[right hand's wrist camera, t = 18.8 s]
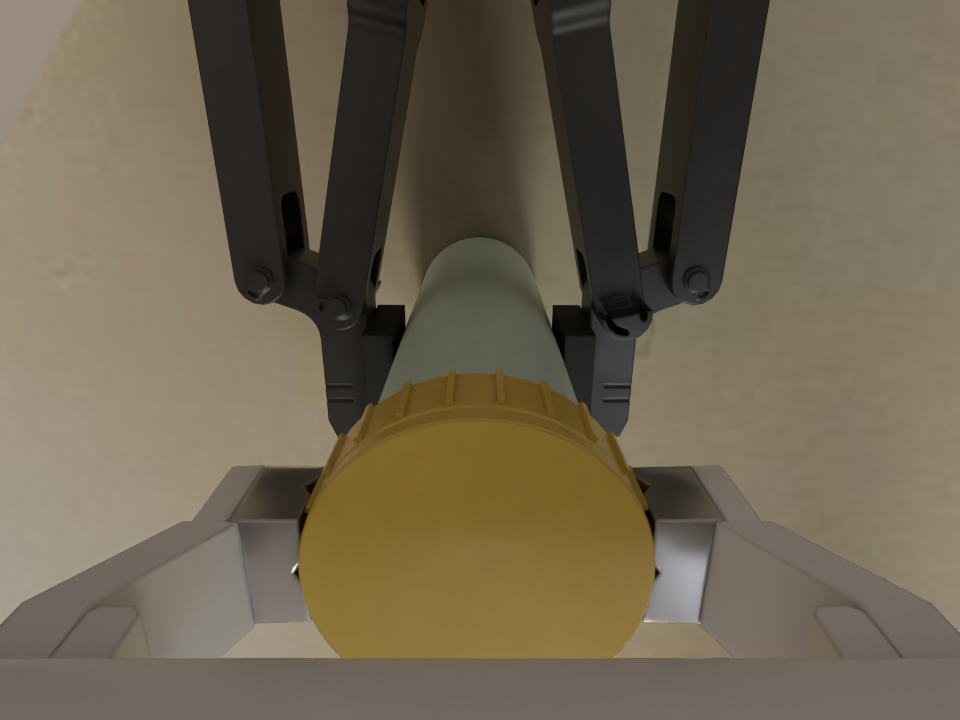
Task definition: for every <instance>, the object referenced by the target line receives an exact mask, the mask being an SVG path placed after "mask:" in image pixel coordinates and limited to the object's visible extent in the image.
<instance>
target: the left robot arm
mask: <svg viewBox="0 0 960 720" xmlns="http://www.w3.org/2000/svg"><path fill="white" fill-rule="evenodd" d="M427 1H428V0H347V6H348V15H349V23H348V33H347V41H346V48H345V56H344V64H343V72H342V79H341V87H340V95H339V103H338V111H337V118H336V126H335V134H334V142H333V149H332V157H331V165H330V173H329V180H328V188H327V196H326V204H325V211H324V219H323V227H322V235H321V243H320V250H319V253H318V252H315V251H312V250H310V248H309V239H308V231H307V223H306V215H305V206H304V198H303V190H302V181H301V173H300V165H299V156H298V148H297V140H296V131H295V123H294V115H293V107H292V98H291V90H290V82H289V73H288V65H287V57H286V48H285V40H284V32H283V24H282V15H281V7H280V0H188V5H189V11H190V17H191V23H192V29H193V35H194V41H195V47H196V53H197V59H198V65H199V71H200V77H201V83H202V88H203V94H204V100H205V106H206V112H207V118H208V124H209V130H210V136H211V142H212V148H213V154H214V160H215V166H216V172H217V178H218V184H219V190H220V196H221V202H222V208H223V214H224V220H225V226H226V232H227V238H228V244H229V250H230V256H231V262H232V268H233V274H234V280H235V283H236V286H237V289H238V291H239V292H240V293H241V294H242V295H243V296H244V298H246V299H247V300H249V301H251V302H253V303H256V304H262V305H265V304H269V303H273V302H275V303H278V304H281V305H284V306H287V307H290V308H292V309H295V310H298V311H300V312H302V313H304V314H306V315H307V316H308V317H310V318H311V319H312V320H313V321H314V323H315V324H316V325H317V327H318V329H319V332H320V336H321V343H322V353H323V364H324V374H325V385H326V396H327V406H328V417H329V421H330V423H331V425H332V427H333V429H334V431H335V433H336V434H337V436H338V437H339V435H340V434H341V433H343V434H345V435H347V434H348V432H349V431H350V429H351V428H352V427H353V426H354V425H355V424H356V423H357V422H358V421H359V420H360V419H361V418H362V415H363V413H364V410H365V408H366V406H367V405H369V404H370V403H372V404H373V405H374V406H376V405H377V404H378V402H379V400H380V397H381V394H382V391H383V389H384V386H385V383H386V381H387V378H388V375H389V372H390V370H391V367H392V364H393V362H394V359H395V356H396V353H397V351H398V348H399V345H400V343H401V340H402V337H403V335H404V332H405V329H406V326H405V305H378V306H377V308H376V302H375V294H376V292H377V290H378V289H379V286H380V284H381V281H379V276H380V270H381V264H382V258H383V252H384V246H385V240H386V234H387V228H388V222H389V216H390V210H391V204H392V198H393V192H394V186H395V180H396V174H397V168H398V162H399V156H400V150H401V144H402V138H403V132H404V126H405V120H406V113H407V107H408V101H409V95H410V89H411V83H412V77H413V71H414V65H415V59H416V54H417V49H418V45H419V42H420V39H421V35H422V30H423V25H424V19H425V13H426V7H427ZM769 2H770V0H678V7H677V15H676V24H675V32H674V40H673V48H672V56H671V64H670V72H669V80H668V88H667V97H666V105H665V113H664V121H663V129H662V137H661V145H660V153H659V161H658V170H657V178H656V186H655V194H654V202H653V210H652V218H651V226H650V235H649V243H648V250H646V251H644V252H641V253H638V246H637V238H636V230H635V222H634V214H633V206H632V199H631V191H630V183H629V175H628V167H627V159H626V151H625V143H624V135H623V127H622V119H621V111H620V103H619V95H618V88H617V80H616V72H615V64H614V56H613V48H612V40H611V32H610V9H611V0H531V4H532V10H533V16H534V22H535V28H536V33H537V37H538V41H539V44H540V47H541V51H542V57H543V63H544V69H545V75H546V82H547V88H548V94H549V100H550V106H551V112H552V118H553V124H554V130H555V137H556V143H557V149H558V155H559V161H560V167H561V173H562V179H563V186H564V192H565V198H566V204H567V210H568V216H569V222H570V228H571V234H572V241H573V247H574V253H575V259H576V265H577V271H578V277H579V283H580V289H581V291H582V307H580V306H579V305H553V316H552V330H553V333H554V336H555V339H556V342H557V345H558V348H559V350H560V353H561V356H562V359H563V362H564V365H565V367H566V370H567V373H568V376H569V379H570V382H571V385H572V387H573V390H574V393H575V396H576V399H577V402H578V404H579V403H580V402H581V401H582V402H583V403H585V404H586V405H587V408H588V411H589V413H590V416H592V417H593V418H594V419H595V420H596V421H597V422H598V423H599V425H600V426H601V427H602V428H603V429H604V431H605V432H606V433H609V432H610V431H612V432H613V433H614V435H615V437H619V436H620V434H621V432H622V430H623V428H624V426H625V424H626V423H627V421H628V414H629V403H630V402H629V399H630V393H631V383H632V373H633V362H634V352H635V342H636V338H637V337H639V336H641V335H642V334H643V333H644V332H645V331H646V330H647V329H648V327H649V325H650V323H651V321H652V314H653V313H655V312H657V311H659V310H662V309H665V308H668V307H671V306H674V305H677V304H680V303H686V304H690V305H697V304H703V303H705V302H706V301H708V300H710V299H712V298H713V297H714V295H715V294H716V293H717V292H718V291H719V288H720V285H721V283H722V278H723V272H724V267H725V261H726V255H727V249H728V243H729V237H730V231H731V225H732V219H733V214H734V208H735V202H736V196H737V190H738V184H739V178H740V172H741V166H742V161H743V155H744V149H745V143H746V137H747V131H748V125H749V119H750V113H751V108H752V102H753V96H754V90H755V84H756V78H757V72H758V66H759V60H760V55H761V49H762V43H763V37H764V31H765V25H766V19H767V13H768V7H769Z"/></svg>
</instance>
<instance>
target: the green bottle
mask: <svg viewBox="0 0 960 720" xmlns="http://www.w3.org/2000/svg"><path fill="white" fill-rule="evenodd" d="M496 369H498V370H503V375H506V376H510V377H515V378H520V379H525V380H528V381H530V382H533V383H536V384H540V382H541V380H543V381H546V382H548V385H549V388H550V389H551V390H553V391H555V392H557V393H559V394H561V395H563V396H565V397H566V398H568V399H569V400H571V401H572V402H574V403H575V404H577V405H578V402H577V399H576V396H575V393H574V390H573V387H572V385H571V382H570V379H569V376H568V373H567V370H566V367H565V365H564V362H563V359H562V356H561V353H560V350H559V348H558V345H557V342H556V339H555V336H554V333H553V330H552V328H551V325H550V322H549V319H548V316H547V313H546V310H545V308H544V305H543V302H542V299H541V296H540V293H539V291H538V288H537V285H536V282H535V279H534V276H533V274H532V271H531V269H530V267H529V265H528V264H527V262H526V261H525V259H524V258H523V257H522V256H521V255H520V254H519V253H518V252H517V251H516V250H515V249H513V248H512V247H511V246H509V245H507V244H505V243H503V242H501V241H498V240H495V239H491V238H484V237H474V238H467V239H464V240H460V241H458V242H455V243H453V244H451V245H450V246H448V247H446V248H445V249H444V250H442V251H441V252H440V253H439V254H438V255H437V256H436V257H435V258H434V260H433V261H432V263H431V264H430V266H429V268H428V270H427V272H426V275H425V278H424V280H423V283H422V286H421V288H420V291H419V294H418V297H417V299H416V302H415V305H414V307H413V310H412V313H411V316H410V318H409V321H408V324H407V326H406V329H405V332H404V335H403V337H402V340H401V343H400V345H399V348H398V351H397V353H396V356H395V359H394V362H393V364H392V367H391V370H390V372H389V375H388V378H387V381H386V383H385V386H384V389H383V391H382V394H381V397H380V400H379V402H378V403H380V402H381V401H383V400H385V399H386V398H388V397H390V396H391V395H393V394H395V393H397V392H398V391H401V390H402V388H403V385H404V383H406V382H408V381H410V382H411V383H412V385H415V384H417V383H420V382H424V381H427V380H431V379H434V378H438V377H444V376H448V371H449V370H456V374H473V373H485V374H495V372H496Z"/></svg>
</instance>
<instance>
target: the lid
mask: <svg viewBox="0 0 960 720" xmlns="http://www.w3.org/2000/svg"><path fill="white" fill-rule="evenodd" d="M647 510H649V508H648V505H647V502H646V500H645V498H644V495H643V493H642V491H641V489H640V486H639V484H638V482H637V480H636V477H635V475H634V473H633V471H632V468H631V466H628V464H627V462H626V460H625V457H624V455H623V453H622V450H621V448H620V446H619V443H618V441H617V439H616V437H615V435H614V433H613V432H612V431H610V432H609V433H606V432H605V431H604V429H603V428H602V427H601V426H600V425H599V423H598V422H597V421H596V420H595V419H594V418H593V417H592V416H590V413H589V411H588V408H587V405H586V404H585V403H583V402H582V401H581V402H580V403H579V404H578V405H577V404H575V403H574V402H572V401H571V400H569V399H568V398H566V397H565V396H563V395H561V394H559V393H557V392H555V391H553V390H551V389H550V388H549V385H548V382H546V381H543V380H541V382H540V384H536V383H533V382H530V381H528V380H525V379H520V378H515V377H510V376H506V375H503V370H498V369H496V372H495V374H485V373H473V374H456V370H449V371H448V376H444V377H438V378H434V379H431V380H427V381H424V382H420V383H417V384H415V385H412V383H411V382H410V381H408V382H406V383H404V385H403V388H402V390H401V391H398V392H397V393H395V394H393V395H391V396H390V397H388V398H386V399H385V400H383V401H381V402H380V403H378V404H377V405H376V406H374V405H373V404H372V403H370V404H369V405H367V406H366V408H365V410H364V413H363V415H362V418H361V419H360V420H359V421H358V422H357V423H356V424H355V425H354V426H353V427H352V428H351V429H350V431H349V432H348V434H347V435H345V434H343V433H341V434H340V435H339V437H338V439H337V441H336V443H335V445H334V447H333V450H332V452H331V454H330V456H329V458H328V461H327V463H326V465H325V467H324V468H323V470H322V472H321V474H320V477H319V479H318V481H317V483H316V485H315V488H314V490H313V492H312V494H311V496H310V498H309V501H308V503H307V505H306V508H305V513H308V515H307V518H306V521H305V524H304V528H303V531H302V534H301V539H300V546H299V553H298V568H299V579H300V584H301V590H302V594H303V597H304V600H305V603H306V606H307V609H308V612H309V614H310V615H311V617H312V619H313V621H314V623H315V625H316V627H317V629H318V630H319V632H320V633H321V634H322V636H323V637H324V639H325V640H326V641H327V643H328V644H329V645H330V646H331V647H332V648H333V649H334V650H335V652H336V653H337V654H338V655H339V656H340V657H341V658H613V657H614V656H615V655H616V654H617V653H618V652H619V651H620V650H621V649H622V648H623V646H624V645H625V644H626V642H627V641H628V640H629V639H630V637H631V636H632V635H633V633H634V632H635V630H636V628H637V627H638V625H639V623H640V622H641V620H642V618H643V616H644V613H645V611H646V608H647V606H648V603H649V601H650V597H651V593H652V589H653V585H654V579H655V566H656V558H655V547H654V540H653V536H652V532H651V528H650V524H649V522H648V519H647V517H646V515H645V512H644V511H647Z"/></svg>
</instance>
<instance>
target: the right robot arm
mask: <svg viewBox="0 0 960 720" xmlns="http://www.w3.org/2000/svg"><path fill="white" fill-rule="evenodd" d="M323 468H324V467H294V466H264V465H261V466H236V467H232V468H231V469H230V470H229V472H228V473H227V474H226V476H225V477H224V478H223V480H222V481H221V482H220V484H219V485H218V487H217V488H216V489H215V491H214V492H213V493H212V495H211V496H210V497H209V499H208V500H207V501H206V503H205V504H204V506H203V507H202V508H201V510H200V511H199V512H198V514H197V515H196V516H195V518H194V519H193V521H192V522H180V523H178V524H176V525H174V526H172V527H171V528H169V529H167V530H165V531H163V532H161V533H159V534H157V535H155V536H153V537H151V538H149V539H147V540H145V541H143V542H141V543H139V544H137V545H135V546H133V547H131V548H129V549H127V550H125V551H123V552H121V553H119V554H117V555H115V556H113V557H111V558H109V559H107V560H105V561H103V562H101V563H99V564H97V565H95V566H93V567H92V568H90V569H88V570H86V571H84V572H82V573H80V574H78V575H76V576H74V577H72V578H70V579H68V580H66V581H64V582H62V583H60V584H58V585H56V586H54V587H52V588H50V589H48V590H46V591H44V592H42V593H40V594H38V595H36V596H34V597H32V598H30V599H28V600H26V601H24V602H22V603H21V604H20V605H19V606H18V607H17V608H16V609H15V610H14V611H13V612H12V613H11V614H10V615H9V617H8V618H7V619H6V620H5V621H4V622H3V623H2V624H1V625H0V720H960V633H959V632H958V631H957V630H956V629H955V628H954V627H953V626H952V625H951V624H950V622H949V621H948V620H947V619H946V618H945V617H944V616H943V615H942V614H941V613H940V612H939V611H938V610H937V609H936V608H935V607H934V606H933V604H931V603H929V602H927V601H925V600H924V599H922V598H920V597H918V596H916V595H914V594H912V593H910V592H908V591H906V590H904V589H902V588H900V587H898V586H896V585H894V584H892V583H890V582H888V581H886V580H885V579H883V578H881V577H879V576H877V575H875V574H873V573H871V572H869V571H867V570H865V569H863V568H861V567H859V566H857V565H855V564H853V563H851V562H849V561H847V560H846V559H844V558H842V557H840V556H838V555H836V554H834V553H832V552H830V551H828V550H826V549H824V548H822V547H820V546H818V545H816V544H814V543H812V542H810V541H808V540H807V539H805V538H803V537H801V536H799V535H797V534H795V533H793V532H791V531H789V530H787V529H785V528H783V527H781V526H779V525H777V524H775V523H773V522H762V521H761V519H760V518H759V517H758V515H757V514H756V513H755V511H754V510H753V508H752V507H751V506H750V504H749V503H748V502H747V500H746V499H745V497H744V496H743V495H742V493H741V492H740V491H739V489H738V488H737V486H736V485H735V484H734V482H733V481H732V480H731V478H730V477H729V475H728V474H727V473H726V471H725V470H724V469H723V468H722V467H720V466H718V465H712V466H679V467H638V468H632V471H633V473H634V475H635V477H636V480H637V482H638V484H639V486H640V489H641V491H642V493H643V495H644V498H645V500H646V502H647V505H648V508H649V510H647V511H644V512H645V515H646V517H647V519H648V522H649V524H650V528H651V532H652V536H653V540H654V547H655V558H656V566H655V579H654V585H653V589H652V593H651V597H650V601H649V603H648V606H647V608H646V611H645V613H644V616H643V621H644V622H669V623H700V627H701V628H702V629H703V630H705V631H706V632H707V633H708V634H709V635H710V636H711V637H712V638H713V639H714V640H715V641H717V642H718V643H719V644H720V645H721V646H722V647H723V648H724V649H725V650H726V651H727V652H729V653H730V654H731V655H732V656H733V657H734V658H220V657H221V656H222V655H223V654H225V653H226V652H227V651H228V650H229V649H230V648H231V647H232V646H233V645H234V644H236V643H237V642H238V641H239V640H240V639H241V638H242V637H243V636H244V635H246V634H247V633H248V632H249V631H250V630H251V629H252V628H253V627H254V623H284V622H311V620H312V617H311V615H310V614H309V612H308V609H307V606H306V603H305V600H304V597H303V594H302V590H301V584H300V579H299V568H298V553H299V546H300V539H301V534H302V531H303V528H304V524H305V521H306V518H307V515H308V513H305V508H306V505H307V503H308V501H309V498H310V496H311V494H312V492H313V490H314V488H315V485H316V483H317V481H318V479H319V477H320V474H321V472H322V470H323Z"/></svg>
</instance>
